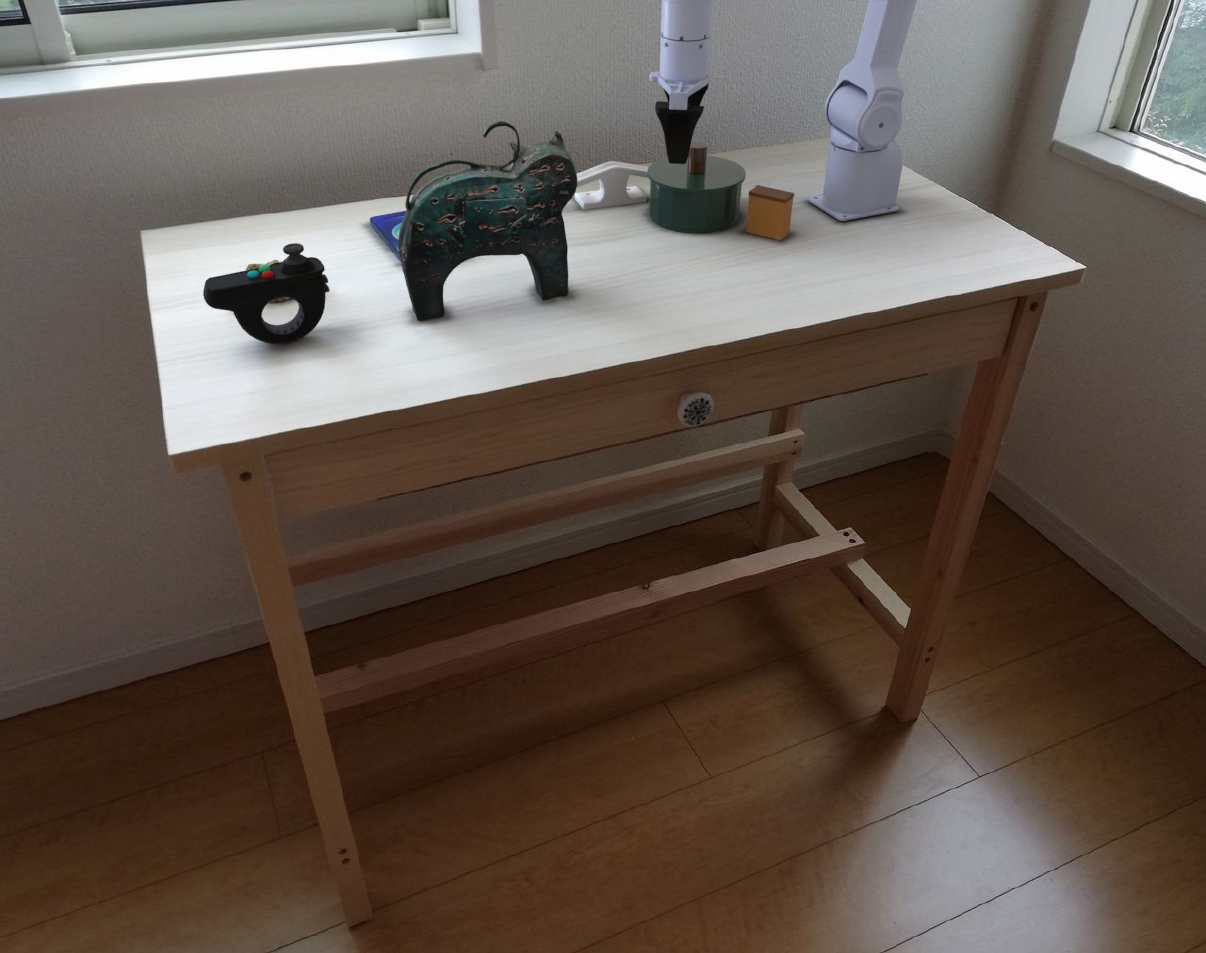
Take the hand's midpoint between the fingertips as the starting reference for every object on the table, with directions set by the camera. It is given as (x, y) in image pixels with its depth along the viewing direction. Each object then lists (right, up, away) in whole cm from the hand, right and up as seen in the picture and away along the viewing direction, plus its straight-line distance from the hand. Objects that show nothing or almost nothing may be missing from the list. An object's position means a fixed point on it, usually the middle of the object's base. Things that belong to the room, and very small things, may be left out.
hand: (680, 152), depth 124 cm
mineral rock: (-48, -19, -7) cm, 52 cm away
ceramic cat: (-22, -21, -10) cm, 32 cm away
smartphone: (-34, -10, +4) cm, 35 cm away
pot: (+3, -5, +10) cm, 12 cm away
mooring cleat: (-9, -2, +15) cm, 17 cm away
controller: (-44, -26, -17) cm, 54 cm away
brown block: (+12, -9, +5) cm, 16 cm away
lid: (+3, -1, +7) cm, 7 cm away
